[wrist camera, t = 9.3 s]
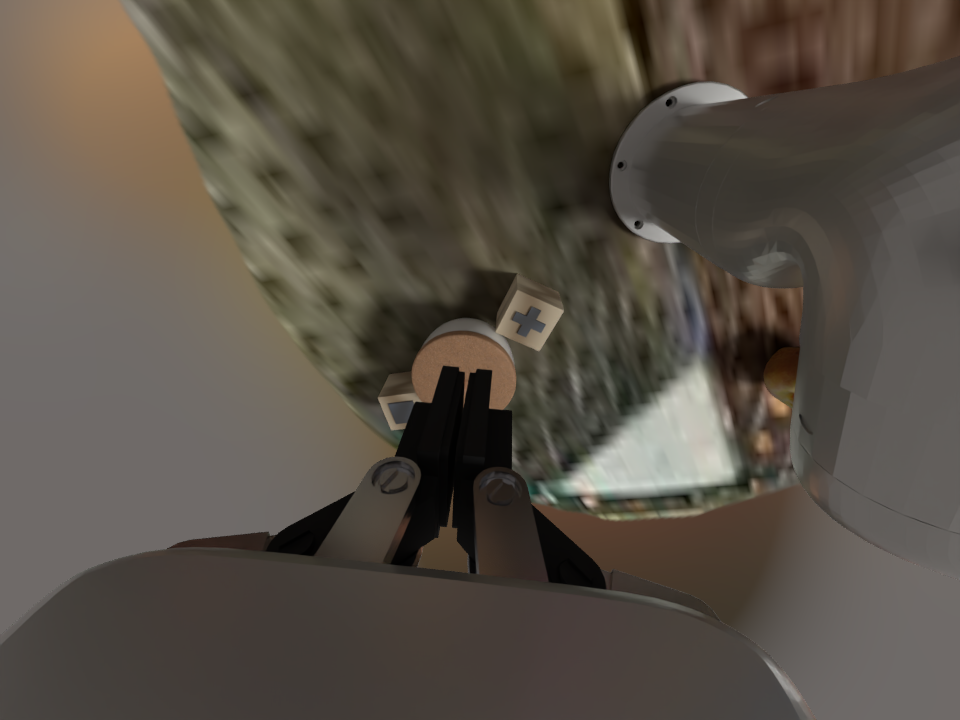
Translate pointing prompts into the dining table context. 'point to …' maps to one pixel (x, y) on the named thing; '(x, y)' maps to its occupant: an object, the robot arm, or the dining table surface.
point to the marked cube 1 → (398, 399)
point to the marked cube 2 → (528, 312)
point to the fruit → (782, 374)
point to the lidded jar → (465, 359)
